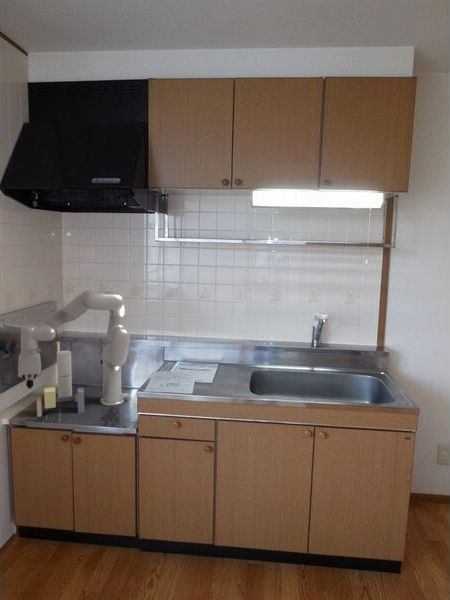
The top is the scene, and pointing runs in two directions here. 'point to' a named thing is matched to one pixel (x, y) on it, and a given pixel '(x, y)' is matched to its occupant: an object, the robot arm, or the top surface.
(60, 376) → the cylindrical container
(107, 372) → the robot arm
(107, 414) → the top surface
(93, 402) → the top surface
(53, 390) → the pale yellow block
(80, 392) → the grey h-shaped piece
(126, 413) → the top surface
